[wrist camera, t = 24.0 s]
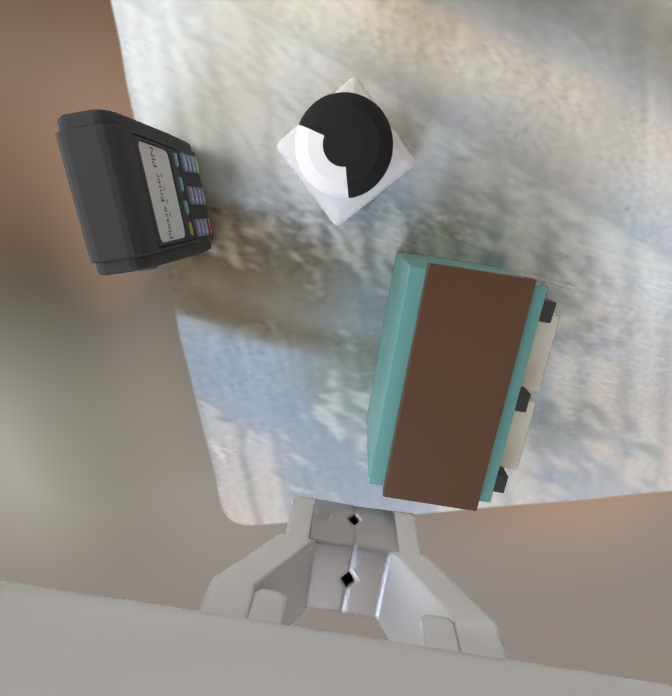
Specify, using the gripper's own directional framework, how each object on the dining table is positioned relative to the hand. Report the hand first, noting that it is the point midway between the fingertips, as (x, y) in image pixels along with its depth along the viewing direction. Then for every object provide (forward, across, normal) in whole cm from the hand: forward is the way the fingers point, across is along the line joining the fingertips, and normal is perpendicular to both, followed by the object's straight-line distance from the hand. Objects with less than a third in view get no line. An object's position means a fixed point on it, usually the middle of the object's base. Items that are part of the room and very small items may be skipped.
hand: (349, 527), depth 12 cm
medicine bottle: (+33, +2, -11) cm, 35 cm away
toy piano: (+33, -7, +4) cm, 34 cm away
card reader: (+33, +16, -6) cm, 37 cm away
